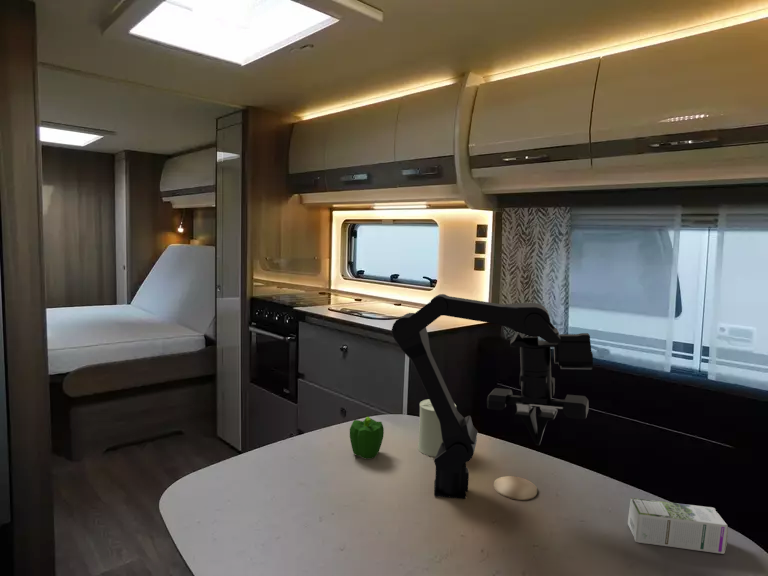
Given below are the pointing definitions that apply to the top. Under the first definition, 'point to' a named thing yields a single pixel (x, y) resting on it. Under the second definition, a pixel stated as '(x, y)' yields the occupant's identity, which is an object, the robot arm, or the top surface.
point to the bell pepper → (366, 437)
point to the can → (429, 430)
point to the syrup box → (677, 525)
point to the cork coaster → (515, 488)
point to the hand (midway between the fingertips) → (537, 444)
